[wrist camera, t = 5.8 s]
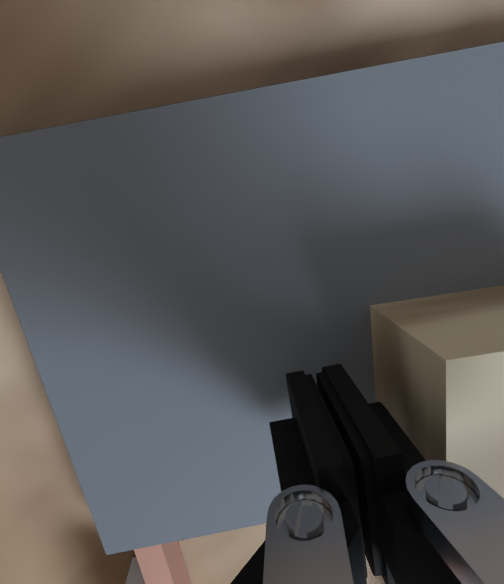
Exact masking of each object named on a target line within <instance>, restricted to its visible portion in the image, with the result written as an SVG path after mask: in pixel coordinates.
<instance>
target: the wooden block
mask: <svg viewBox="0 0 504 584" xmlns="http://www.w3.org/2000/svg"><path fill="white" fill-rule="evenodd" d="M370 314H371V331H372V348H373V364H374V381H375V398H376V402H381V403H382V404H383V405H384V406H385V408H386V409H387V410H388V411H389V413H390V414H391V415H392V417H393V418H394V419H395V421H396V422H397V423H398V424H399V426H400V427H401V428H402V430H403V431H404V432H405V434H406V435H407V436H408V438H409V439H410V440H411V441H412V443H413V444H414V445H415V447H416V448H417V449H418V451H419V452H420V453H421V454H422V456H423V457H424V458H425V460H426V461H428V460H443V461H448V462H452V463H456V464H458V465H460V466H463V467H465V468H467V469H468V470H470V471H471V472H473V473H474V474H476V475H477V476H478V477H479V478H481V479H482V480H483V481H484V482H485V483H486V484H488V485H489V486H490V487H491V488H492V489H493V490H494V491H496V492H497V493H498V494H499V495H500V496H501V497H503V498H504V285H501V286H495V287H488V288H482V289H475V290H468V291H462V292H455V293H449V294H442V295H436V296H429V297H423V298H416V299H409V300H403V301H396V302H390V303H383V304H377V305H370Z"/></svg>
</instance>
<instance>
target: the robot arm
mask: <svg viewBox="0 0 504 584" xmlns="http://www.w3.org/2000/svg"><path fill="white" fill-rule="evenodd" d="M285 375H286V382H287V388H288V394H289V400H290V406H291V413H292V418H289V419H284V420H278V421H273V422H269V424H270V430H271V436H272V442H273V448H274V453H275V459H276V465H277V471H278V476H279V482H280V488H281V492H280V493H279V494H278V495H277V496H276V497H275V498H274V499H273V501H272V502H271V504H270V506H269V509H268V513H267V522H266V539H265V541H264V542H263V544H262V545H261V546H260V547H259V549H258V550H257V551H256V552H255V554H254V555H253V556H252V557H251V559H250V560H249V561H248V562H247V564H246V565H245V566H244V567H243V569H242V570H241V571H240V572H239V574H238V575H237V576H236V577H235V579H234V580H233V581H232V582H231V584H367V582H366V578H367V567H366V559H365V555H366V558H367V560H368V563H369V566H370V568H371V571H372V573H373V575H374V576H379V575H382V576H383V579H384V581H385V584H504V498H503V497H501V496H500V495H499V494H498V493H497V492H496V491H494V490H493V489H492V488H491V487H490V486H489V485H488V484H486V483H485V482H484V481H483V480H482V479H481V478H479V477H478V476H477V475H476V474H474V473H473V472H471V471H470V470H468V469H467V468H465V467H463V466H460V465H458V464H456V463H452V462H448V461H443V460H428V461H426V460H425V458H424V457H423V456H422V454H421V453H420V452H419V451H418V449H417V448H416V447H415V445H414V444H413V443H412V441H411V440H410V439H409V438H408V436H407V435H406V434H405V432H404V431H403V430H402V428H401V427H400V426H399V424H398V423H397V422H396V421H395V419H394V418H393V417H392V415H391V414H390V413H389V411H388V410H387V409H386V408H385V406H384V405H383V404H382V403H381V402H375V403H368V402H367V401H366V399H365V398H364V396H363V395H362V393H361V392H360V391H359V389H358V388H357V386H356V385H355V383H354V382H353V381H352V379H351V378H350V376H349V375H348V373H347V372H346V370H345V369H344V368H343V366H342V365H341V364H335V365H329V366H324V367H322V372H318V373H316V379H317V384H316V382H315V380H314V378H313V376H312V374H307V375H305V373H304V371H303V370H302V371H297V372H292V373H286V374H285ZM317 386H318V387H317Z"/></svg>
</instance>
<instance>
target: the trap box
mask: <svg viewBox="0 0 504 584" xmlns="http://www.w3.org/2000/svg"><path fill="white" fill-rule="evenodd" d="M0 270H1V272H2V275H3V278H4V280H5V283H6V286H7V289H8V291H9V294H10V297H11V299H12V302H13V305H14V307H15V310H16V313H17V316H18V318H19V321H20V324H21V326H22V329H23V332H24V334H25V337H26V340H27V343H28V345H29V348H30V351H31V353H32V356H33V359H34V361H35V364H36V367H37V369H38V372H39V375H40V378H41V380H42V383H43V386H44V388H45V391H46V394H47V396H48V399H49V402H50V405H51V407H52V410H53V413H54V415H55V418H56V421H57V423H58V426H59V429H60V432H61V434H62V437H63V440H64V442H65V445H66V448H67V450H68V453H69V456H70V458H71V461H72V464H73V467H74V469H75V472H76V475H77V477H78V480H79V483H80V485H81V488H82V491H83V494H84V496H85V499H86V502H87V504H88V507H89V510H90V512H91V515H92V518H93V521H94V523H95V526H96V529H97V531H98V534H99V537H100V539H101V542H102V545H103V547H104V550H105V553H106V555H110V554H115V553H120V552H125V551H130V550H134V552H135V555H136V557H133V558H132V561H131V565H130V568H129V572H128V575H127V579H126V582H125V584H191V583H190V580H189V576H188V573H187V570H186V566H185V563H184V560H183V556H182V553H181V550H180V547H179V543H178V541H179V540H184V539H189V538H194V537H199V536H204V535H209V534H214V533H219V532H224V531H229V530H234V529H239V528H244V527H249V526H254V525H259V524H264V523H266V522H267V513H268V509H269V506H270V504H271V502H272V501H273V499H274V498H275V497H276V496H277V495H278V494H279V493H280V492H281V488H280V482H279V476H278V471H277V465H276V459H275V453H274V448H273V442H272V436H271V430H270V424H269V422H273V421H278V420H284V419H289V418H292V413H291V406H290V400H289V394H288V388H287V382H286V375H285V374H286V373H292V372H297V371H302V370H303V371H304V373H305V375H307V374H312V376H313V378H314V380H315V382H316V384H317V379H316V373H318V372H322V367H324V366H329V365H335V364H341V365H342V366H343V368H344V369H345V370H346V372H347V373H348V375H349V376H350V378H351V379H352V381H353V382H354V383H355V385H356V386H357V388H358V389H359V391H360V392H361V393H362V395H363V396H364V398H365V399H366V401H367V402H368V403H375V402H376V398H375V381H374V364H373V348H372V331H371V314H370V305H377V304H383V303H390V302H396V301H403V300H409V299H416V298H423V297H429V296H436V295H442V294H449V293H455V292H462V291H468V290H475V289H482V288H488V287H495V286H501V285H504V42H499V43H494V44H488V45H483V46H478V47H473V48H467V49H462V50H457V51H451V52H446V53H441V54H436V55H430V56H425V57H420V58H414V59H409V60H404V61H399V62H393V63H388V64H383V65H377V66H372V67H367V68H361V69H356V70H351V71H346V72H340V73H335V74H330V75H324V76H319V77H314V78H309V79H303V80H298V81H293V82H287V83H282V84H277V85H271V86H266V87H261V88H256V89H250V90H245V91H240V92H234V93H229V94H224V95H219V96H213V97H208V98H203V99H197V100H192V101H187V102H181V103H176V104H171V105H166V106H160V107H155V108H150V109H144V110H139V111H134V112H129V113H123V114H118V115H113V116H107V117H102V118H97V119H91V120H86V121H81V122H76V123H70V124H65V125H60V126H54V127H49V128H44V129H39V130H33V131H28V132H23V133H17V134H12V135H7V136H1V137H0ZM317 387H318V386H317Z"/></svg>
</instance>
